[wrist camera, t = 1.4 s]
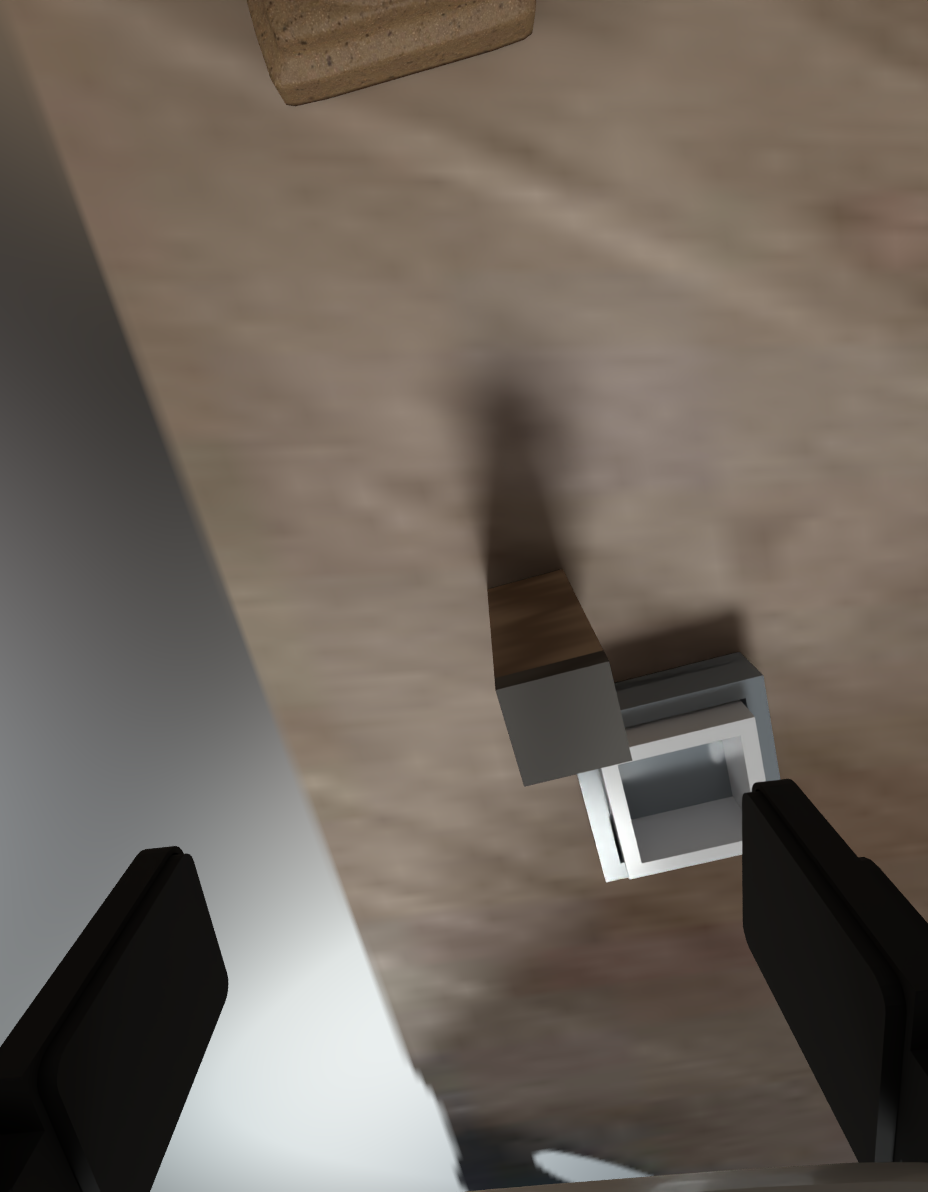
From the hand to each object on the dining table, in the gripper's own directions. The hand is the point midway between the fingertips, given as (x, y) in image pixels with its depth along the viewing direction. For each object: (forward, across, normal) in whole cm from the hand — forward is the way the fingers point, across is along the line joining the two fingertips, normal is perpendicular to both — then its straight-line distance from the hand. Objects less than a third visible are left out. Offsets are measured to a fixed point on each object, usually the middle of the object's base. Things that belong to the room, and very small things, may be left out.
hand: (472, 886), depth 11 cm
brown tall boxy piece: (+24, -3, +4) cm, 24 cm away
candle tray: (+24, -10, +13) cm, 29 cm away
